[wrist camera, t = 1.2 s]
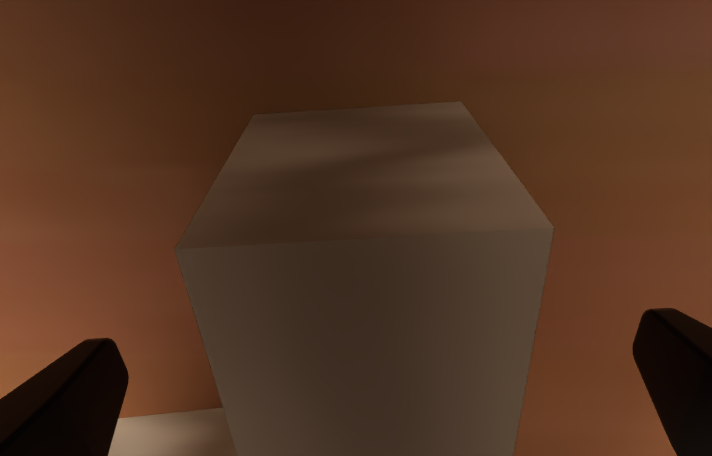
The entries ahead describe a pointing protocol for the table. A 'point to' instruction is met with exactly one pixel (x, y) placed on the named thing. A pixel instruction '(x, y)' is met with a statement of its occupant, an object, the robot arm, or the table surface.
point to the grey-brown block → (368, 284)
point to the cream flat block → (174, 435)
